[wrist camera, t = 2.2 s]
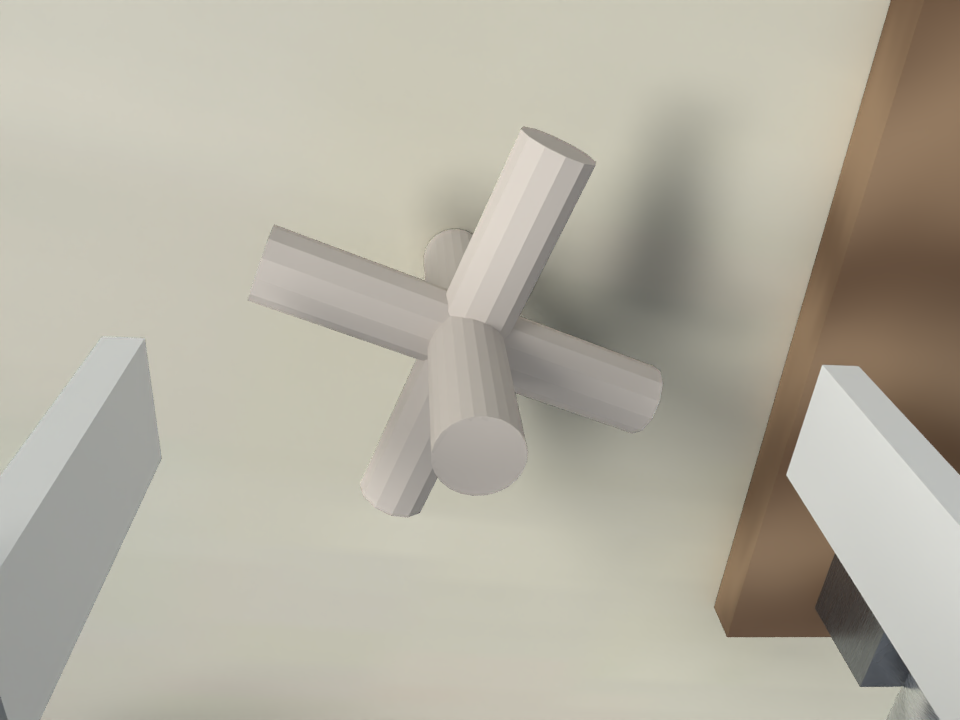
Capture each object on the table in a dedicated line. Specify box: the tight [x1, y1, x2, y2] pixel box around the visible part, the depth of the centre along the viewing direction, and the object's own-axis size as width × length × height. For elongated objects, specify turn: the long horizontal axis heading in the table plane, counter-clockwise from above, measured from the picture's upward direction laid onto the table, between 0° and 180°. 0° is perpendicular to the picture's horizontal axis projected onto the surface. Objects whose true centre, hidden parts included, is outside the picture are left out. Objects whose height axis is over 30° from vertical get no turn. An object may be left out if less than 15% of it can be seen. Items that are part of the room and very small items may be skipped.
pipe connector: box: [248, 126, 663, 517], centre depth 20 cm, size 10×10×10 cm
